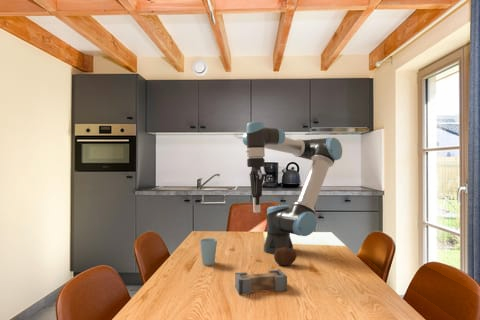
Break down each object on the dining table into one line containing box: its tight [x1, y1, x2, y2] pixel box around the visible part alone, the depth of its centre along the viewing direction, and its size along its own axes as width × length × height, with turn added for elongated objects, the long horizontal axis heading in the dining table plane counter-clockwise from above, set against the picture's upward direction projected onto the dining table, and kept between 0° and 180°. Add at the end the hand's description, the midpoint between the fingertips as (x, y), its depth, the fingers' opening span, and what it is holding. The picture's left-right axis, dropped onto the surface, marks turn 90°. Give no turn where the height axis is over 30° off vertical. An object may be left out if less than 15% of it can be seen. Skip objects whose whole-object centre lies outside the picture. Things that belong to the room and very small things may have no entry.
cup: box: [199, 237, 218, 266], centre depth 141 cm, size 8×8×10 cm
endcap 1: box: [234, 271, 252, 296], centre depth 110 cm, size 4×7×5 cm, turn 12°
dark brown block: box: [240, 272, 279, 293], centre depth 111 cm, size 14×4×5 cm, turn 101°
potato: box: [273, 247, 298, 266], centre depth 138 cm, size 7×10×8 cm
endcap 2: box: [269, 269, 288, 292], centre depth 113 cm, size 4×7×5 cm, turn 12°
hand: (256, 212), depth 135 cm, fingers closed
